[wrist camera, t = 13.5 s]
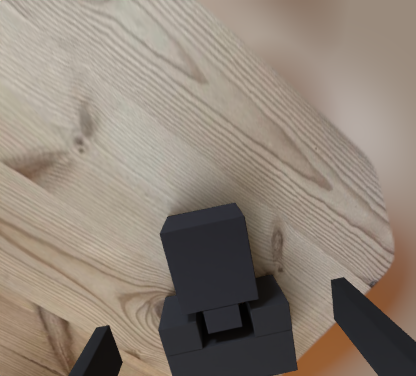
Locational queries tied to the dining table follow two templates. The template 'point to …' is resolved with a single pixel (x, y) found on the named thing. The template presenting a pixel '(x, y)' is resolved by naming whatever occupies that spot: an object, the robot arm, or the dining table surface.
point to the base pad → (232, 338)
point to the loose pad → (210, 264)
